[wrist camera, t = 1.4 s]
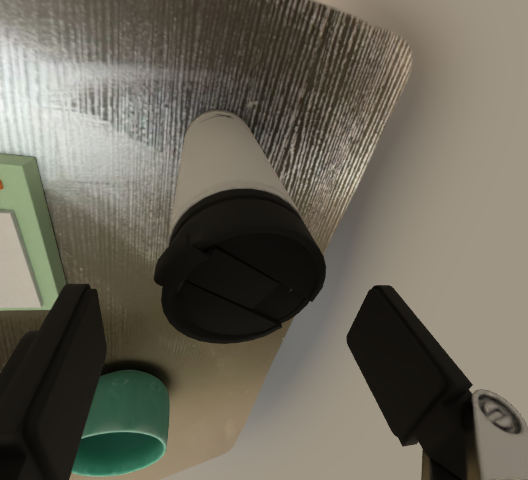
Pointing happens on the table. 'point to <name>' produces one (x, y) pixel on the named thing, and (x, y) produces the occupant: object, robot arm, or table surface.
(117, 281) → the table surface
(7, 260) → the scale
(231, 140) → the travel mug
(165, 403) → the mug
